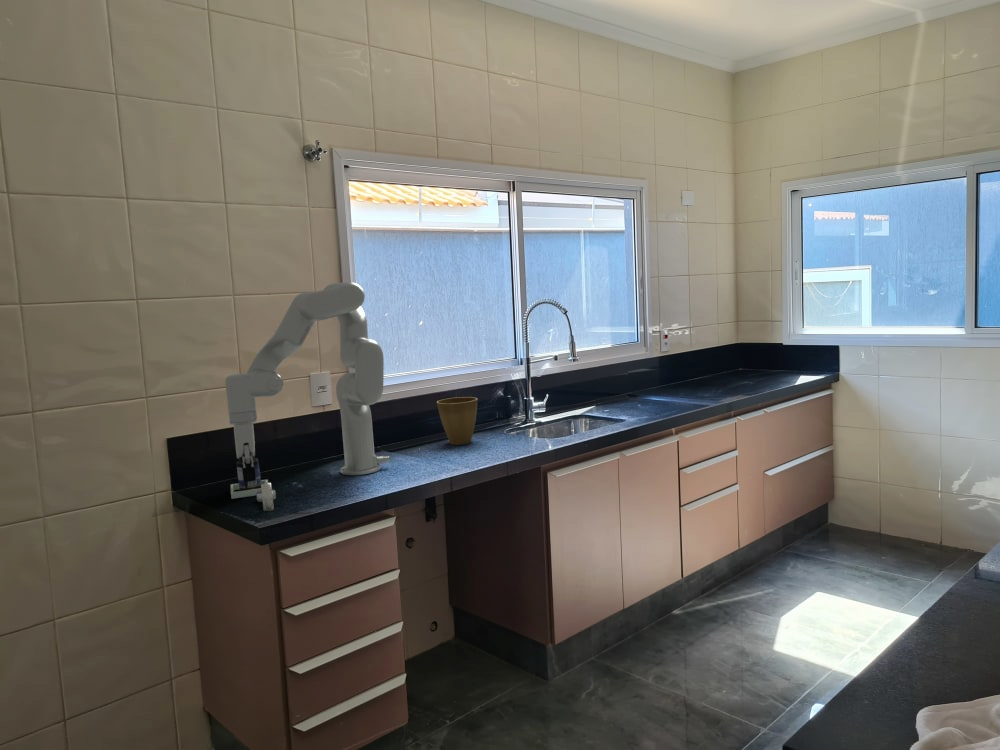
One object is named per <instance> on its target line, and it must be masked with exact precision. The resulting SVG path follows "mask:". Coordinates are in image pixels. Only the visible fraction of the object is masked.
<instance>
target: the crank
mask: <svg viewBox="0 0 1000 750" xmlns="http://www.w3.org/2000/svg"><path fill="white" fill-rule="evenodd" d="M260 488H261V490H262V491H259V492H257V493H256V494H257V495H256V500H257V502H259V503H261V502H262V508H263V511H264V512H269V511H273V510H274V509H275V508H274V500H276V499H277V496H276V495H277V494H276V490H275V489H273V487H272V482H270V481H268V482H266V483H262V484H261V487H260Z"/></svg>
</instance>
